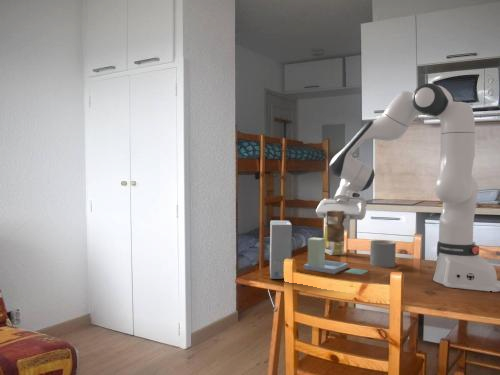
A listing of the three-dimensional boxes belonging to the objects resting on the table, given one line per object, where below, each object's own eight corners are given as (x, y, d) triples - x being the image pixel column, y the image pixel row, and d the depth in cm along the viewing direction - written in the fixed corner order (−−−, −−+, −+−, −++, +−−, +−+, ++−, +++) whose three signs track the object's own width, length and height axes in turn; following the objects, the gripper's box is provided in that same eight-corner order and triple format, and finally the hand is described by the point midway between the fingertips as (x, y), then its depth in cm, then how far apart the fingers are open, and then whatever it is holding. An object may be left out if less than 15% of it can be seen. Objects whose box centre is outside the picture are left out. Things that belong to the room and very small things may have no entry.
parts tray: (347, 268, 179) (348, 263, 179) (334, 275, 168) (334, 269, 168) (318, 264, 186) (318, 259, 186) (303, 270, 176) (303, 264, 176)
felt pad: (369, 272, 173) (369, 270, 173) (361, 276, 167) (361, 274, 167) (352, 269, 177) (352, 268, 177) (344, 273, 171) (344, 272, 171)
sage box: (324, 268, 177) (325, 238, 176) (318, 270, 173) (319, 240, 172) (313, 266, 180) (313, 237, 179) (307, 269, 176) (307, 238, 175)
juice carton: (321, 252, 213) (322, 202, 212) (336, 251, 215) (337, 202, 214) (330, 256, 204) (330, 204, 203) (345, 255, 206) (346, 203, 205)
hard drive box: (291, 279, 161) (292, 225, 160) (270, 279, 161) (270, 224, 160) (288, 269, 176) (289, 219, 175) (269, 269, 176) (269, 219, 176)
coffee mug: (384, 269, 178) (385, 244, 177) (365, 265, 186) (365, 241, 185) (405, 265, 185) (405, 241, 185) (385, 261, 193) (386, 238, 193)
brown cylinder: (344, 240, 178) (344, 210, 177) (338, 242, 174) (338, 211, 173) (332, 239, 181) (332, 210, 180) (327, 241, 176) (327, 211, 176)
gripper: (319, 193, 188) (308, 218, 180) (366, 194, 176) (356, 221, 169) (324, 203, 192) (314, 228, 184) (370, 205, 180) (361, 232, 172)
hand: (334, 225), depth 176 cm, fingers closed on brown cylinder, 5 cm apart
